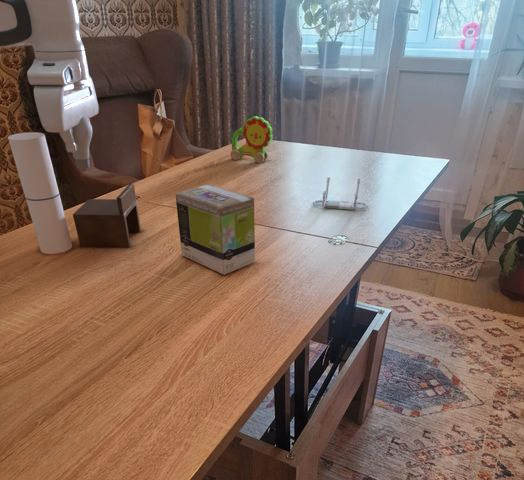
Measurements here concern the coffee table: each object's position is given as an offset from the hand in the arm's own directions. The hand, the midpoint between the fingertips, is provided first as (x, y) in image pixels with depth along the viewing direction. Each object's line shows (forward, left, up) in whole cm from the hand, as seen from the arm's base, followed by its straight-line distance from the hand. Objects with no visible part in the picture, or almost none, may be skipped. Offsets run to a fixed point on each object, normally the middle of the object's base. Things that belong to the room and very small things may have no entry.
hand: (79, 147), depth 98 cm
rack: (-1, +10, -24) cm, 26 cm away
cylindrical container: (-12, +4, -24) cm, 27 cm away
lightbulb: (0, 0, -5) cm, 5 cm away
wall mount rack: (+58, +38, -24) cm, 74 cm away
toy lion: (+29, +86, -24) cm, 94 cm away
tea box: (+27, -1, -24) cm, 36 cm away
